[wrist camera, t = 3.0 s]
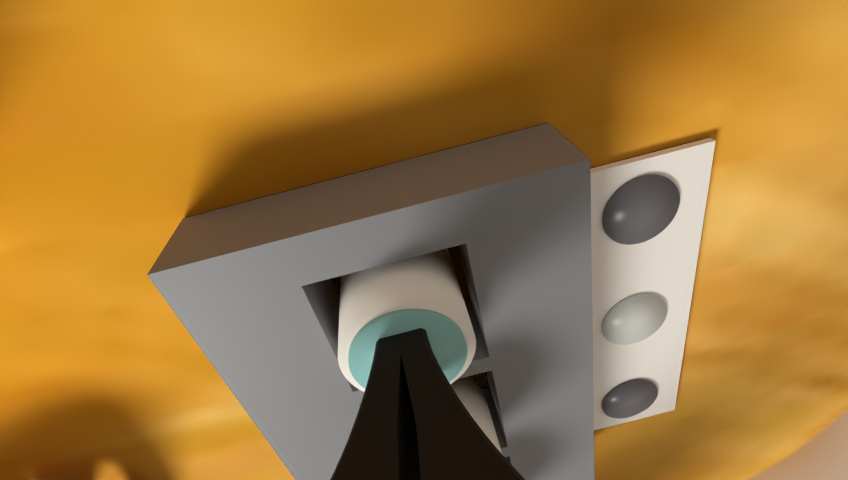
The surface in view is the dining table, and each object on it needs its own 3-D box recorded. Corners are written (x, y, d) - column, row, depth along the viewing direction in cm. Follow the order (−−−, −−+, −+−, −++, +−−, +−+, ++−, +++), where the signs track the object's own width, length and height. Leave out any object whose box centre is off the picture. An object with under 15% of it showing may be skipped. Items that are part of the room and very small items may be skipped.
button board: (570, 452, 25) (594, 508, 22) (358, 505, 25) (359, 567, 22) (548, 122, 14) (590, 159, 12) (183, 218, 14) (147, 274, 12)
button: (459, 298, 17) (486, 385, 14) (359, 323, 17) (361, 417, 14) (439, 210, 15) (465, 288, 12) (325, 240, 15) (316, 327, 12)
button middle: (491, 426, 19) (523, 535, 15) (399, 449, 19) (409, 563, 15) (477, 362, 17) (510, 473, 13) (372, 390, 17) (377, 507, 13)
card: (671, 404, 24) (675, 411, 23) (578, 428, 24) (581, 435, 23) (709, 137, 15) (717, 142, 15) (566, 174, 15) (571, 179, 15)
